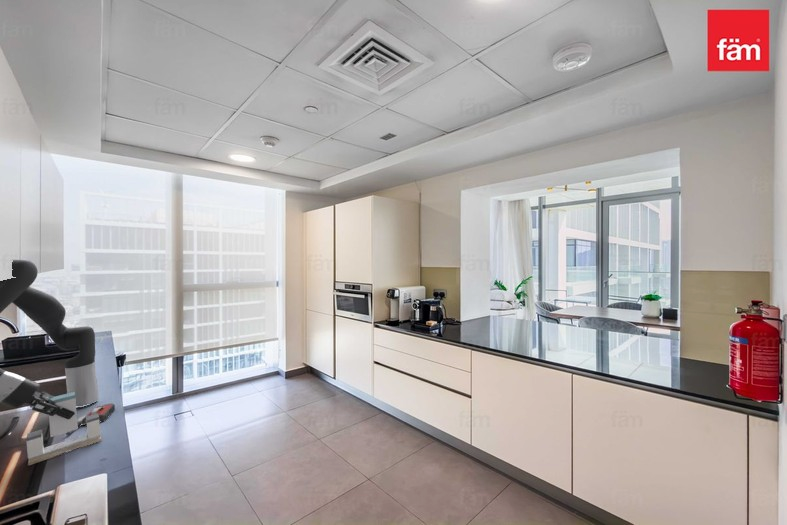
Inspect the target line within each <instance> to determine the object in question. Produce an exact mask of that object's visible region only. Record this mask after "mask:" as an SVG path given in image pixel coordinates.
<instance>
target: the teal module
mask: <svg viewBox="0 0 787 525" xmlns="http://www.w3.org/2000/svg"><path fill="white" fill-rule="evenodd" d="M50 399H52V400H53V401H55V402H56V404H57V405H59V406H62V407H63V408H66V409H68V410H71V411H73V412H75V414H74V415H73V416H72V417H71V418H70V419H66V418H63V417H61V416H58V415H54V416H50V415H48V420H49V432H50V436H49V437H50V438H53V437H57V436H59V435H63V434H66V433H67V432H70V431H73V430H74V431H76V430H78V429H79V427H78V424H77V420H78V414H77V409H76V399H75V392H72V393H68V394H67V393H65V394H64V393H63V394H60V395H57V396H55V395H54V397H53V398H50ZM49 404H51V402H49ZM54 409H55V408H51V409H50V410H51V411H53V410H54ZM74 431H73V432H74Z"/></svg>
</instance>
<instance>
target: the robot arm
mask: <svg viewBox="0 0 787 525" xmlns="http://www.w3.org/2000/svg"><path fill="white" fill-rule="evenodd" d="M12 260H13V262H12V269H13V270H12V276H13V277H16V278H11V279H7V280H3V281H0V314H1V313H2V312H3V311H5V310H6V309H7V308H8V307H9V306H10V305H11V304H13V305H15V306H16V307H17V308H18V309H19V310H21V312H23V313H24V314H25V315H26V316H27V317H28V318H29V319H30V320H31V321H32V322H33V323H35V324H36V325H37V326H38V327H40V328H41V329H42V331H44V333H46V334H47V335H48V336H49V337H50V339H51V340H52V342H53V343H54V344H55V346H56V347H57V348H59V349H60V350H61V351H77V350H79V351H78V352H79V353H78V354H77V355H75V356H73V357H71V358H68V359H67V360H65V361H64V371H65V384H66V394H68V393H72V392H75V399H76V406H83V405H87V404H91V403H93V402H95V401H97V400H98V401H99V399H98V397H99V385H98V377H97V372H96V361H95V360H96V334H95V330H94V329H93V328H92V327H91V326H79V327H67V326H66V325H64V323H63V322H64V320H65V317H66V314H67V313H66V308H65V307H64V306H63V305H62V303H61V302H60V301H59V300H58V299H57V298H56V297H54V296H53V295H51V294H49V293H47V292H44V291H42V290H39V289H37V288H35V287H32V286H31V285H32V284H33V283H34V282H35V281H36V279H37V276H38V273H39V272H38V267H37V266H36V263H34V262H32V261H31V260H28V259H26V260H25V259H12ZM40 387H41V384H40V383H39V382H36V381H33V380H32V379H29V378H27V377H24V376H23V375H19V374H17V373H14V372H11V371H7V370H5V369H3V368H1V367H0V404H3V405H5V406H7V407H10V408H12V409H18V408H20V407H22V406H23V404H27V405H29V408H31V410H32V411H34V412H38V413H41V414H45V415H48V416H49V415H50V416H54V415H58V416H61V417H63V418H66V419H70V418H71V417H72V416H73V415H74V414H75V412H73V411H71V410H68V409H66V408H63V407H62V406H59V405H57V404H56V402H55V401H53V400H52V399H50V398H53V397H55V395H52V394H50V393H48V392H46V391H42V390H41V392H38V391H39V389H40ZM49 402H51V404H49ZM51 408H55V409H54V410H53V411H51V410H50V409H51Z"/></svg>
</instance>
